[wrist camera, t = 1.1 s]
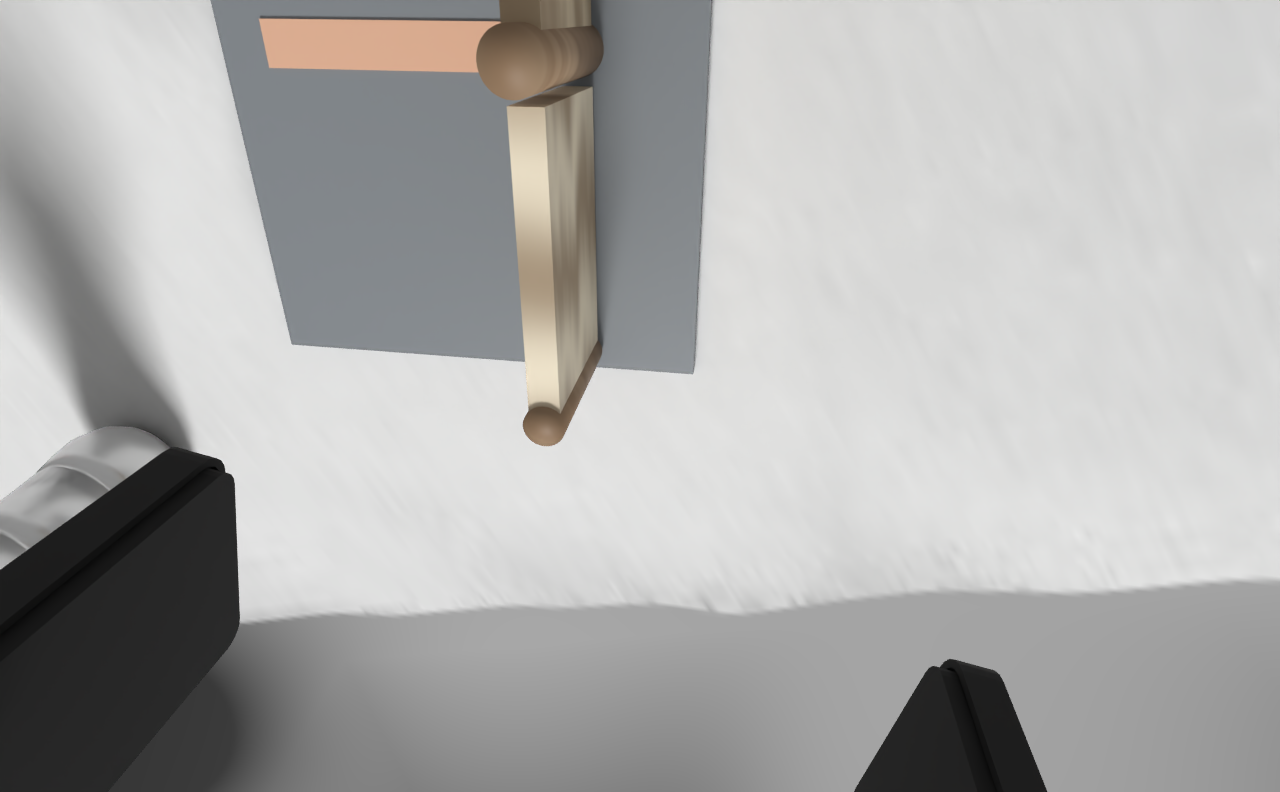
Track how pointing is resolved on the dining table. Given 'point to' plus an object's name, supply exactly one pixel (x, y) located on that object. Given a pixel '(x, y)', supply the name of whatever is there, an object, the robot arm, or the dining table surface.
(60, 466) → the plastic bottle
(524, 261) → the fence gate
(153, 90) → the dining table surface
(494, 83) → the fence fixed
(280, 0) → the board
